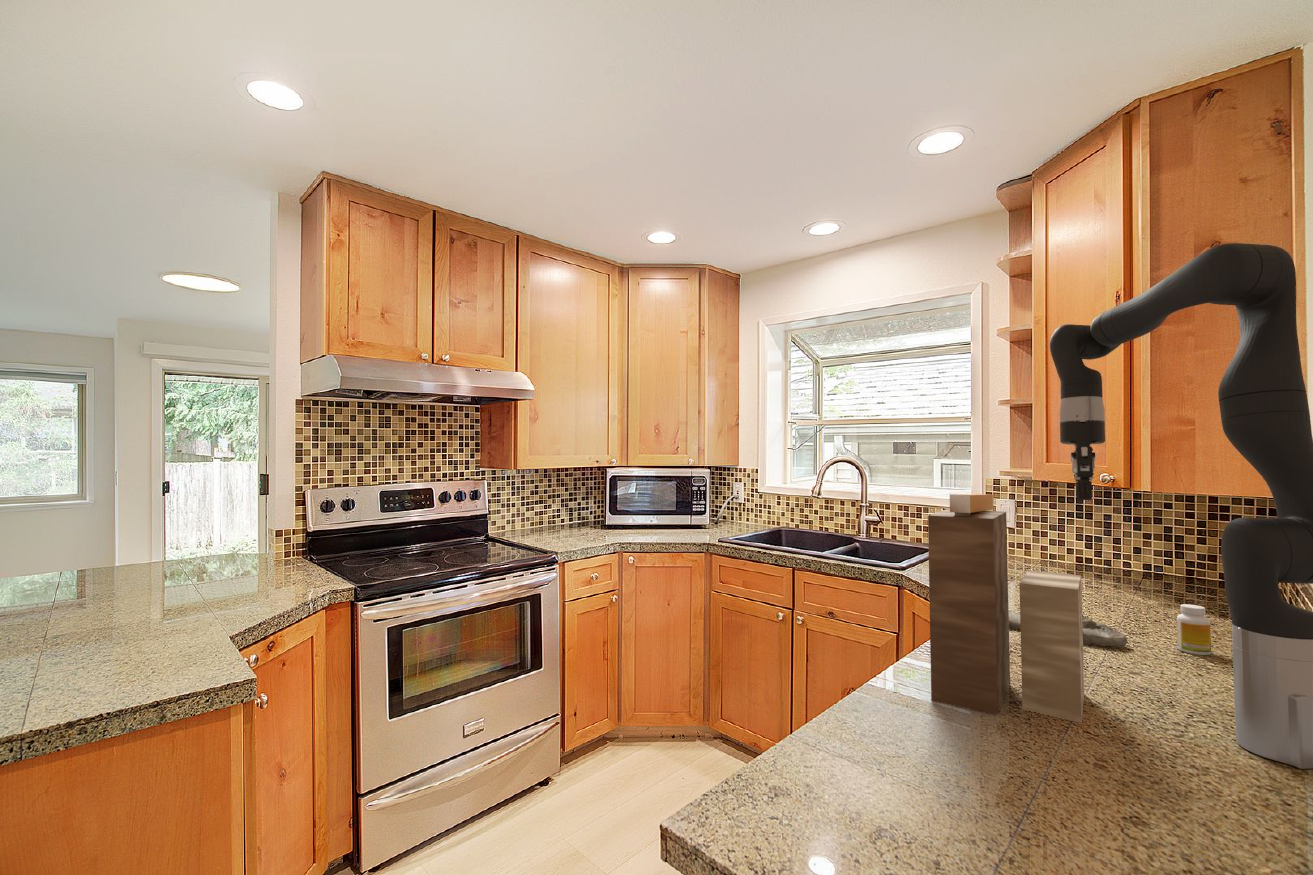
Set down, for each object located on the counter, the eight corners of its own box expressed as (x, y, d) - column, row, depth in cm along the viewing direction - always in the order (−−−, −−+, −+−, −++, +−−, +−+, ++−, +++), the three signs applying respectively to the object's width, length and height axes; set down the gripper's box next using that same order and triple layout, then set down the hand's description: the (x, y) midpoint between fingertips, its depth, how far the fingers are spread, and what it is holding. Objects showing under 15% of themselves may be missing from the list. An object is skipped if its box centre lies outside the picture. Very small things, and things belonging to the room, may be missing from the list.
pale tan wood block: (976, 508, 122) (976, 494, 122) (993, 509, 120) (993, 494, 120) (949, 512, 101) (949, 494, 101) (969, 513, 99) (969, 494, 99)
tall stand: (950, 673, 115) (947, 505, 116) (1010, 685, 109) (1006, 508, 110) (931, 700, 102) (927, 511, 103) (997, 715, 96) (992, 515, 97)
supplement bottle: (1218, 656, 124) (1216, 610, 124) (1188, 654, 125) (1186, 608, 126) (1200, 648, 129) (1198, 603, 130) (1171, 646, 130) (1170, 602, 131)
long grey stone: (975, 617, 160) (957, 625, 155) (973, 598, 161) (955, 605, 155) (1135, 643, 132) (1119, 654, 126) (1132, 619, 132) (1116, 629, 127)
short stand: (1031, 684, 109) (1028, 570, 110) (1084, 694, 104) (1081, 575, 105) (1022, 709, 98) (1019, 583, 99) (1081, 722, 93) (1078, 589, 94)
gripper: (1059, 424, 129) (1060, 499, 128) (1060, 417, 117) (1062, 499, 116) (1102, 423, 125) (1104, 500, 124) (1107, 415, 113) (1110, 500, 112)
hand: (1083, 499), depth 120 cm, fingers open, 8 cm apart
